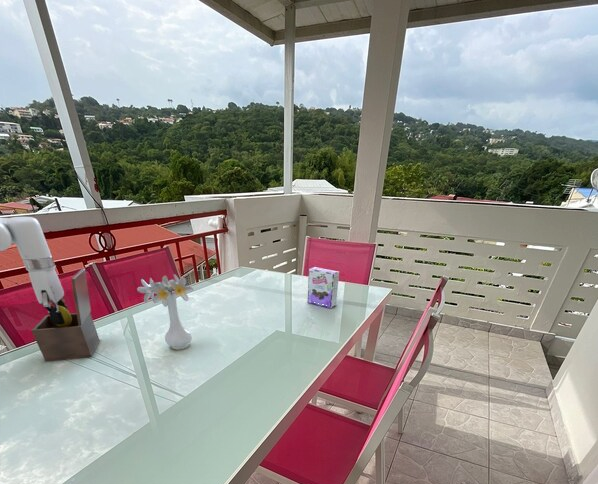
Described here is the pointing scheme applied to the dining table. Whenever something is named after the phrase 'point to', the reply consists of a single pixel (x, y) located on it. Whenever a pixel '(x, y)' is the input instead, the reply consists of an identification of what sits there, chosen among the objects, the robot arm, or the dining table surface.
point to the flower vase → (170, 307)
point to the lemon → (64, 316)
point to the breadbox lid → (81, 295)
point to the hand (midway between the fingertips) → (62, 319)
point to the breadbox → (66, 339)
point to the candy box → (323, 287)
